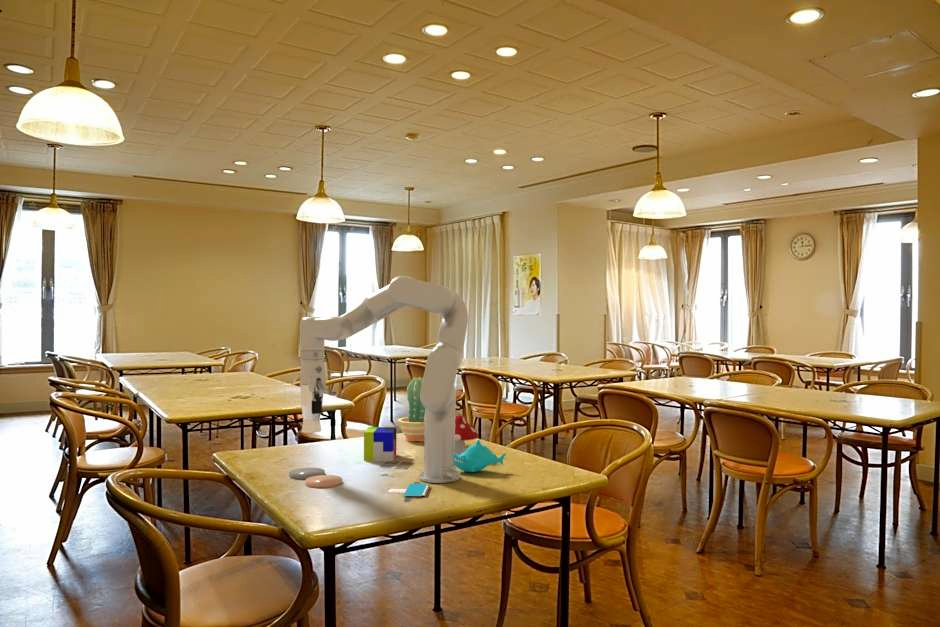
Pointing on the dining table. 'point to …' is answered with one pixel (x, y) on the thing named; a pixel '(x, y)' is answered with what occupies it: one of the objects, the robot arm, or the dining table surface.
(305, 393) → the beer glass
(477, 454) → the toy shark
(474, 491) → the dining table surface
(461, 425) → the decorative mushroom
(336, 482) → the terracotta coaster
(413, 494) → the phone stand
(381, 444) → the puzzle toy
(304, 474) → the slate coaster
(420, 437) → the potted cactus
